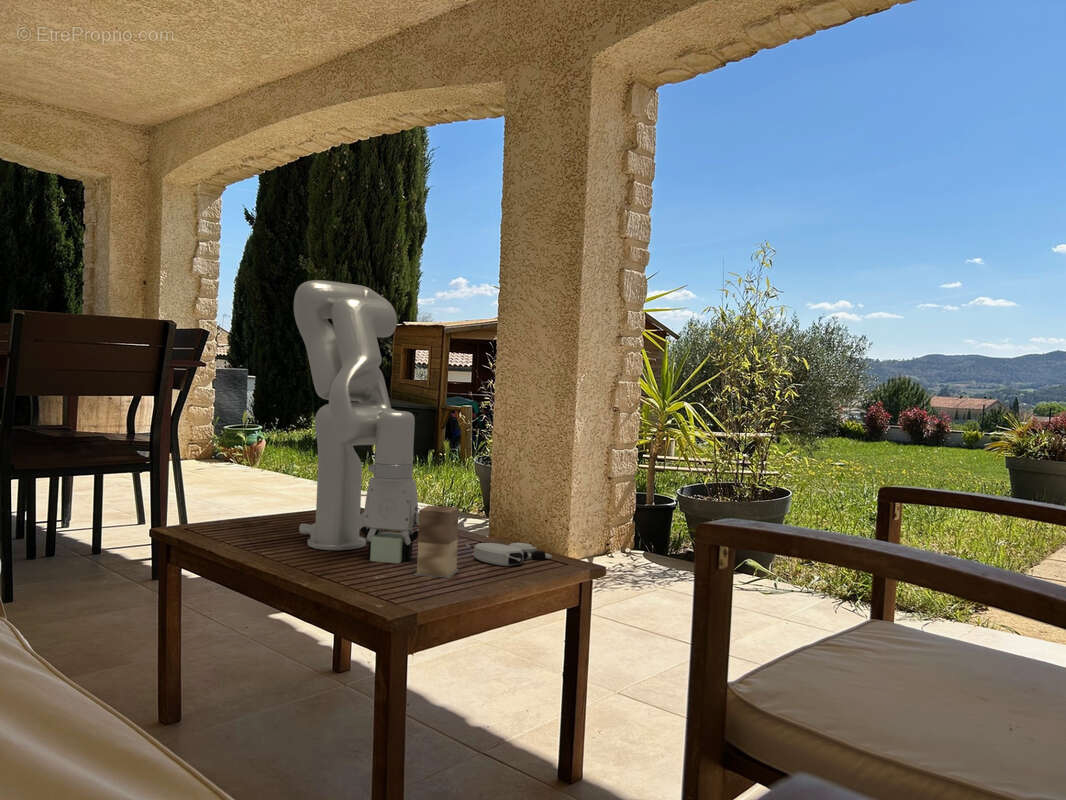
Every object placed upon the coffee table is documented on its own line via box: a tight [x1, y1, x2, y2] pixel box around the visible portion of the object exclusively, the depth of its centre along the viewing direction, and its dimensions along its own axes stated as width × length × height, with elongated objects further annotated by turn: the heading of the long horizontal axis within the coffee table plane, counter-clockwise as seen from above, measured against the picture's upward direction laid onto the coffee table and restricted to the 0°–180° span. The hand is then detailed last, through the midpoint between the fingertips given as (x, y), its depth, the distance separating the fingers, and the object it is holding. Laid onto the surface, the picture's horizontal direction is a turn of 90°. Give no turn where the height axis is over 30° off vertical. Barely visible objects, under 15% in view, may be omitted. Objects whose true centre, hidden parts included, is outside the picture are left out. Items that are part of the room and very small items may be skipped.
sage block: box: [369, 531, 404, 564], centre depth 160 cm, size 6×6×6 cm
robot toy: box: [465, 542, 553, 567], centre depth 165 cm, size 12×4×15 cm
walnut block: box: [417, 505, 460, 545], centre depth 151 cm, size 6×6×6 cm
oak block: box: [416, 538, 459, 578], centre depth 151 cm, size 6×6×6 cm
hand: (389, 560), depth 160 cm, fingers closed on sage block, 6 cm apart
